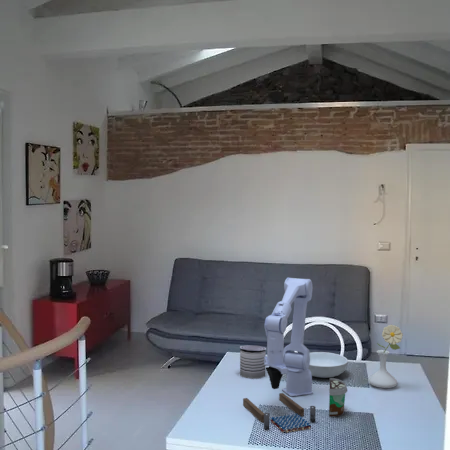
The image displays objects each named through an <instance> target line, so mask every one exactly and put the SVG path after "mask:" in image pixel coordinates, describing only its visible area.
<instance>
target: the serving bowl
mask: <svg viewBox="0 0 450 450" xmlns="http://www.w3.org/2000/svg"><path fill="white" fill-rule="evenodd" d="M348 363H349V360H348V358H347V357H345V356H343V355H341V354H338V353H333V352H328V351H327V352H324V351H312V352H311V351H310V365H309V368H308V369H309V370H310V371H311V374H312V377H316V378H319V379H320V378H321V379H323V378H325V379H326V378H327V379H328V378H329V379H330V378H334V377H337V376H340V375H341V374H343V373H344V372H345V371H346V370H347V367H348Z"/></svg>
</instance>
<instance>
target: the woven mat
mask: <svg viewBox="0 0 450 450" xmlns="http://www.w3.org/2000/svg"><path fill="white" fill-rule="evenodd" d="M303 417H304V416H301V417H300V415H298V414H296V413H292V414H285V415H279V416H275V417H273V416H272V417H271V418H270V423H271V424H272V425H274V426H275V425H276V426H277V427H278V428H279V429H280V430H281V431H280V430H279V429H278V428H277V427H276V426H275V427H276V428H277V429H278V430H279V431H280V432H281V433H283V432H285V433H288V432H289V431H290V432H291V433H292V431H293V432H298V431H304V430H305V431H307V429H308V430H310V429H311V428H312V425H311V424H310V423H311V422H308V420H306V419H305V418H303ZM281 427H282V428H281ZM290 432H289V433H290Z"/></svg>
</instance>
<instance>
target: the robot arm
mask: <svg viewBox="0 0 450 450" xmlns="http://www.w3.org/2000/svg"><path fill="white" fill-rule="evenodd" d="M283 284H284V285H283V289H284V294H283V297H282V299H281V301H277V303H276V305H275V307H274V308H273V311H272V313H271V314H269V315H267V316H266V318H265V319H264V324H263V325H264V326H263V327H264V330H265V336H266V338H267V339H266V342H267V343H266V357H264V362H265V363H264V365H265V372H266V373H267V374H268V378H269V382H270V387H271V389H273V390H276V389H279V388H280V385H281V380H282V378H283V375H285V376H286V377H285V378H286V380H285V384H286V386H285V387H284V388H281V390H282V391H283V393H286V394H287V396H288V395H289V396H290V397H298V396H304V395H312V394H314V393H313V390H312V389H313V376H312V374H311V371H310V370H309V369H308V368H309V365H310V353H311V351H310V349H309V348H307V346H306V345H305V344H304V338H305V327H306V317H307V316H306V315H307V306H308V303H309V302H311V300H312V298H313V290H314V289H313V287H314V285H313V282H312V280H311V279H310V278H298V277H297V278H295V277H286V279H285V280H284V283H283ZM292 305H294V306H293V310H292ZM292 311H293V317H292V325H291V337H290V343H289V344H287V345H286V346H284V343H285V341H284V338H285V335H284V334H285V332H286V331H287V325H288V318H289V317H290V315H291V313H292Z"/></svg>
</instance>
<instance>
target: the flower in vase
mask: <svg viewBox="0 0 450 450" xmlns="http://www.w3.org/2000/svg"><path fill="white" fill-rule="evenodd" d="M403 334H404V333H403V332H402V330H401V328H400V327H399V326H396V325H394V324H388V325H387V326H384V327H383V331H382V333H381V337H382V338H383V339H384V342H386V343H387V344H388V345H387V347H385V346H384V345H381V344H380V343H378V342H377V343H376V344H377V345H378V346H379V347H381V348H384V350H383V349H378V350H376V353H377V354H378V357H379V369H378V370H377V371H376V372H374V373H373V374H371V375H370V376H369V377H368V379H367V382H368V383H369V384H370V385H372V386H373V387H377V388H381V389H390V388H395V387H396V386H397V385H398V384H399V382H398V380H397V378H395V377H394V376H393V374H391V373H390V372H389V371H387V358H388V357H389V354H390V351H389V350H387V349H388V348H389V347H390V348H391V349H392V350H394V351H396V350H399V349H401V347H400V346H399V343H401V342H402V339H403V336H404V335H403Z"/></svg>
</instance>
